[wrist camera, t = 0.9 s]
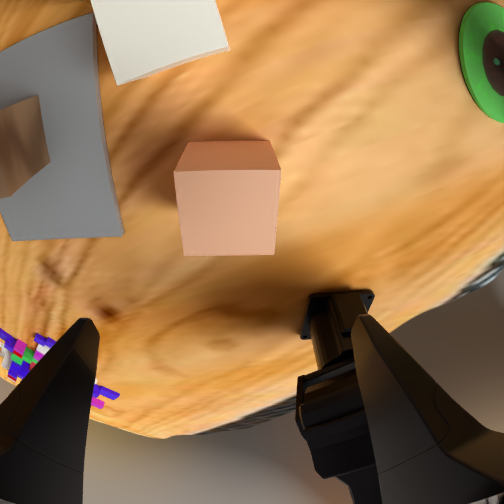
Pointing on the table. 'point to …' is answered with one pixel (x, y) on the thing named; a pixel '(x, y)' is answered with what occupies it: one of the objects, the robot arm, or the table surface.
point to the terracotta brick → (228, 198)
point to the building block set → (21, 368)
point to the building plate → (62, 136)
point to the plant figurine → (484, 56)
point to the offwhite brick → (157, 34)
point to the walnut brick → (21, 145)
